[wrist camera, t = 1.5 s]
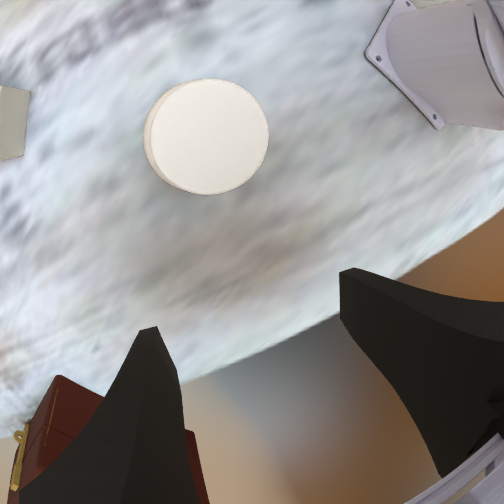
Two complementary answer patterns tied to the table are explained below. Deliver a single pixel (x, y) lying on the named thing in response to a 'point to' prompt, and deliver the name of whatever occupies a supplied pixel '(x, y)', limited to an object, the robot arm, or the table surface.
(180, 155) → the supplement bottle
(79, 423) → the box
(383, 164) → the table surface
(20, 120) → the cream ceramic block
